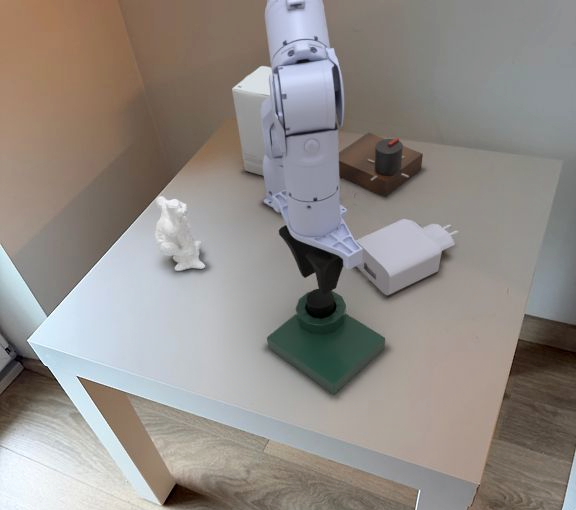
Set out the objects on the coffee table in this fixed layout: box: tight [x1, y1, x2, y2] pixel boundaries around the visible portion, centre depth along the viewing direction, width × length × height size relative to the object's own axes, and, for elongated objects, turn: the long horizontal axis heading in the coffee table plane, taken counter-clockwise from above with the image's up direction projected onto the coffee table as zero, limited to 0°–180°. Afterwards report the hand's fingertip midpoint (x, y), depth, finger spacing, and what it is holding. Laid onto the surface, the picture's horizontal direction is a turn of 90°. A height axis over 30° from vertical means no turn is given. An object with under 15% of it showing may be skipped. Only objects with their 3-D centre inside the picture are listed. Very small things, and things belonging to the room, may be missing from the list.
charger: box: [354, 218, 459, 296], centre depth 79 cm, size 5×9×15 cm
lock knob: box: [375, 137, 404, 176], centre depth 89 cm, size 4×4×4 cm
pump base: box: [266, 290, 386, 395], centre depth 71 cm, size 12×11×4 cm
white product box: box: [231, 65, 273, 177], centre depth 94 cm, size 9×9×15 cm
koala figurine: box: [154, 195, 206, 272], centre depth 81 cm, size 8×7×12 cm
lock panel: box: [339, 132, 424, 198], centre depth 93 cm, size 14×11×3 cm
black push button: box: [306, 288, 334, 319], centre depth 71 cm, size 4×4×2 cm
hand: (319, 281), depth 68 cm, fingers open, 3 cm apart
